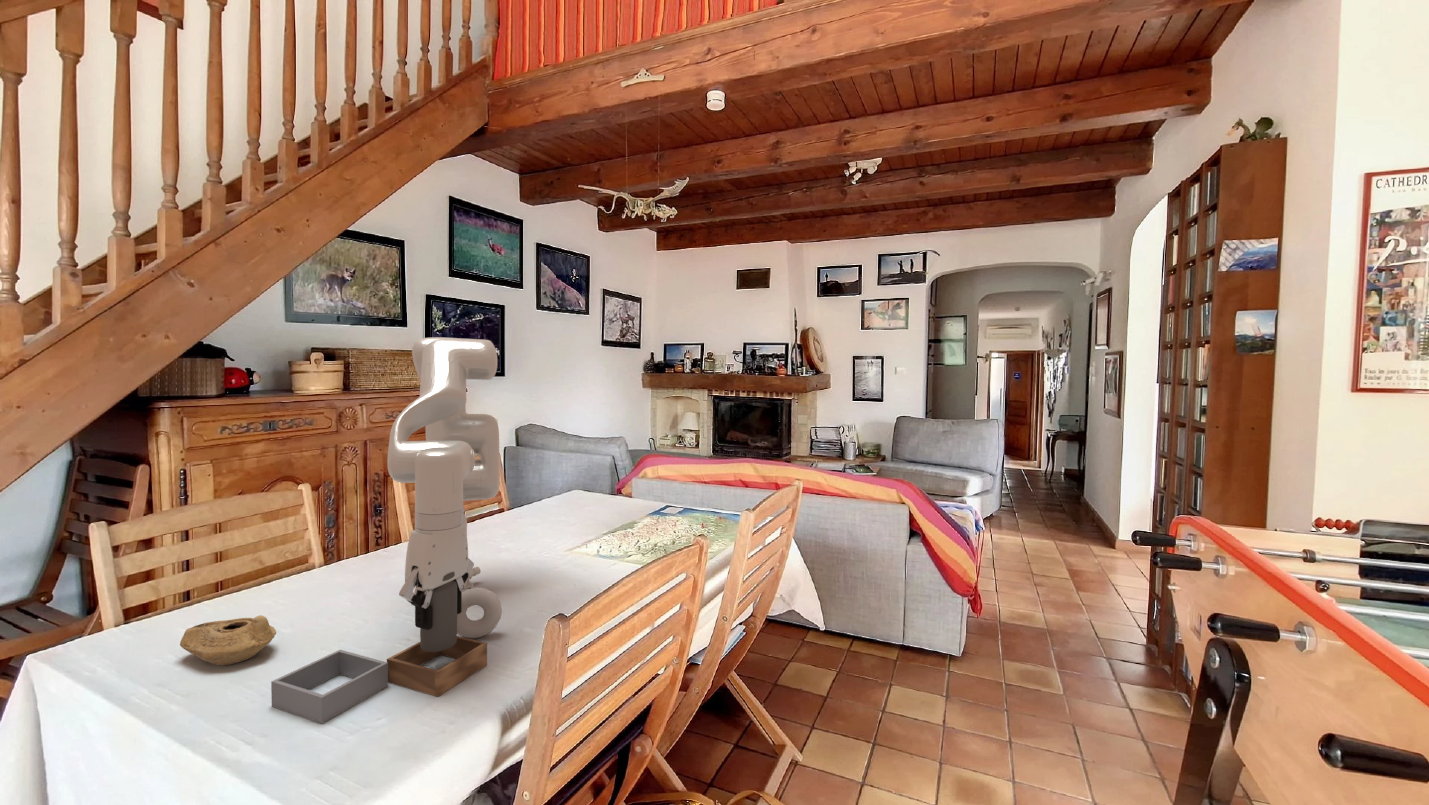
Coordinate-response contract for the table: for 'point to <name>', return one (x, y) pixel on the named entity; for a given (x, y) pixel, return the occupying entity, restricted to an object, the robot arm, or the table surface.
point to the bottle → (441, 618)
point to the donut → (489, 618)
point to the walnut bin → (436, 682)
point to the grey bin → (320, 708)
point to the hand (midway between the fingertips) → (438, 618)
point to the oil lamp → (228, 639)
